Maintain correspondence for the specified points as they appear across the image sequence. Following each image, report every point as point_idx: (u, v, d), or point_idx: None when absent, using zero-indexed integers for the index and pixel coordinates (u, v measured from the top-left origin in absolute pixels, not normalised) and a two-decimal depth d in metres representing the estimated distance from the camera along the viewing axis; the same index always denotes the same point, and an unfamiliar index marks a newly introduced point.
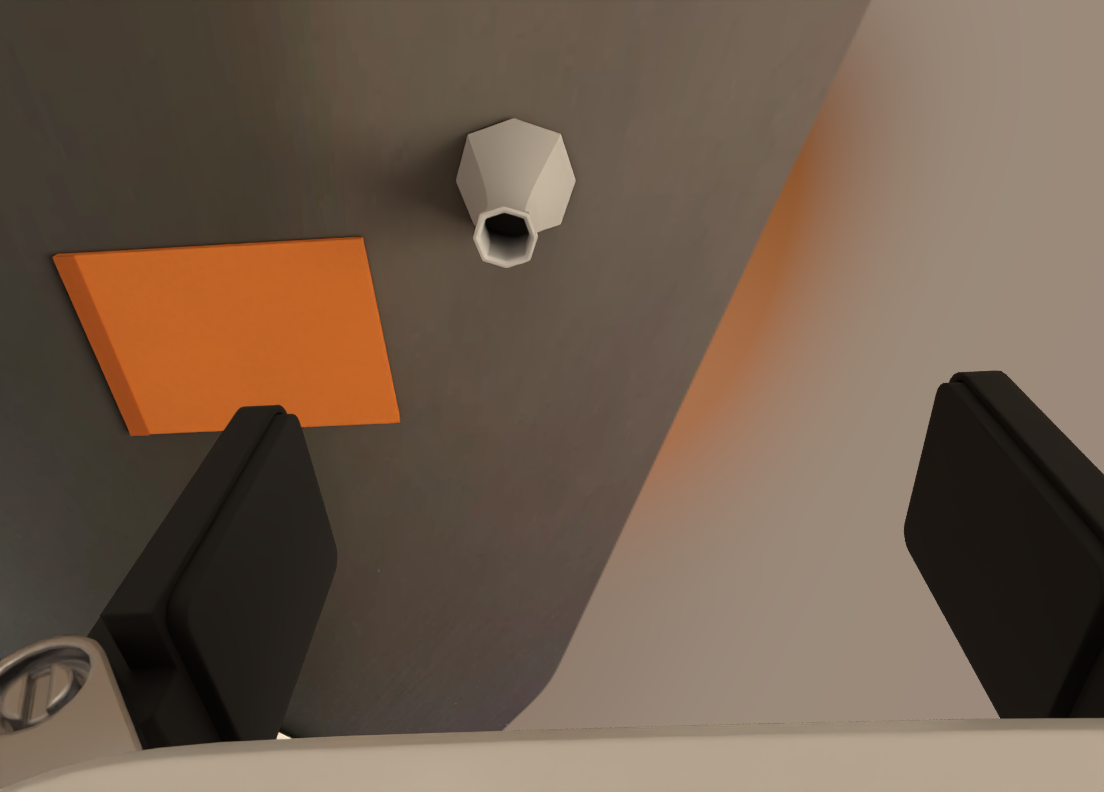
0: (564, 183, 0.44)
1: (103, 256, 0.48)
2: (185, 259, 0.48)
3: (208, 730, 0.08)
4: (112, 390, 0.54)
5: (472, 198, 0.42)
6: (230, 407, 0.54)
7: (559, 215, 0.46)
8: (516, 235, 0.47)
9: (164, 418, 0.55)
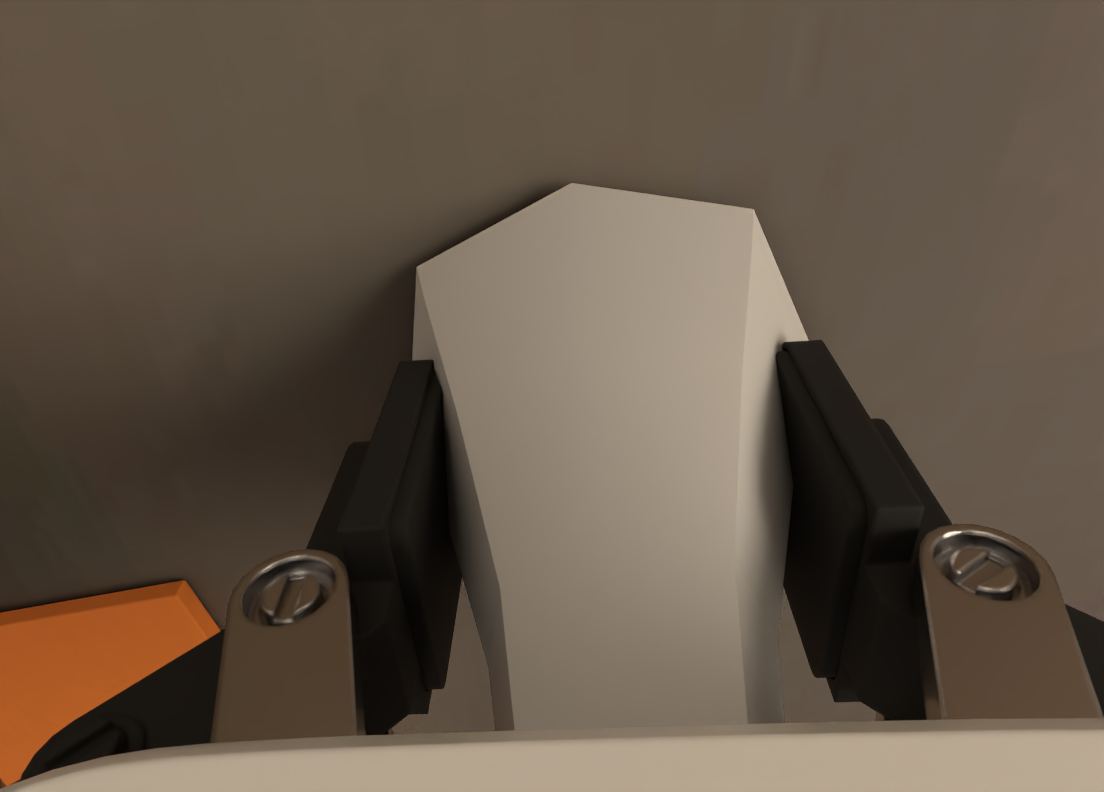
0: None
1: None
2: None
3: (410, 644, 0.09)
4: None
5: (457, 545, 0.10)
6: None
7: None
8: None
9: None
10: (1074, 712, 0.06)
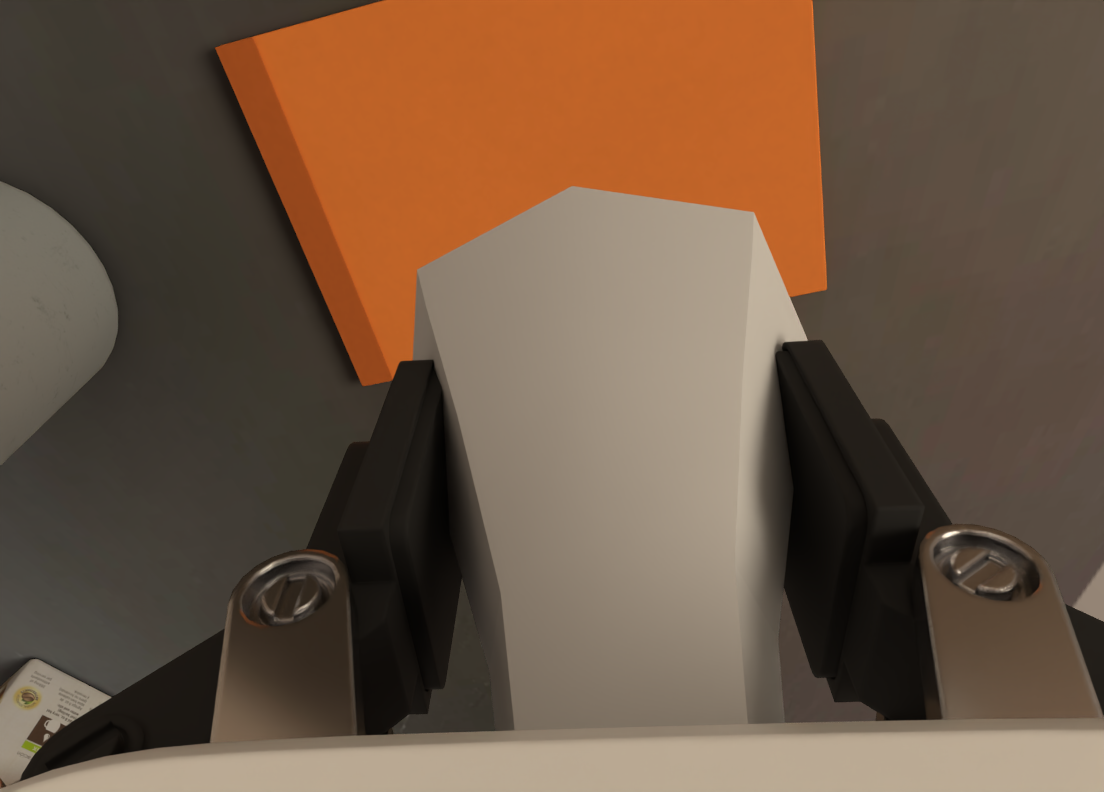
0: None
1: (306, 28, 0.26)
2: (456, 5, 0.25)
3: (410, 644, 0.09)
4: (330, 306, 0.31)
5: (457, 548, 0.10)
6: None
7: None
8: None
9: None
10: (1074, 712, 0.06)
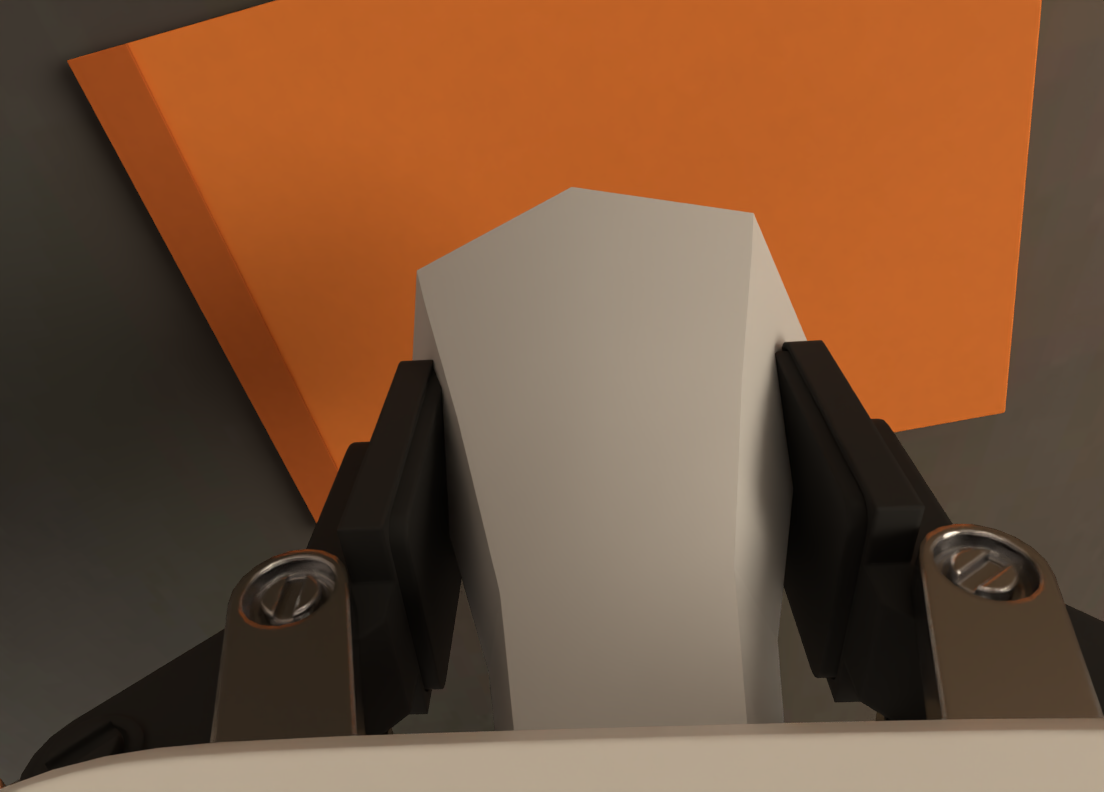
0: None
1: (212, 28, 0.16)
2: None
3: (410, 644, 0.09)
4: (272, 435, 0.21)
5: (457, 549, 0.10)
6: None
7: None
8: None
9: None
10: (1073, 712, 0.06)
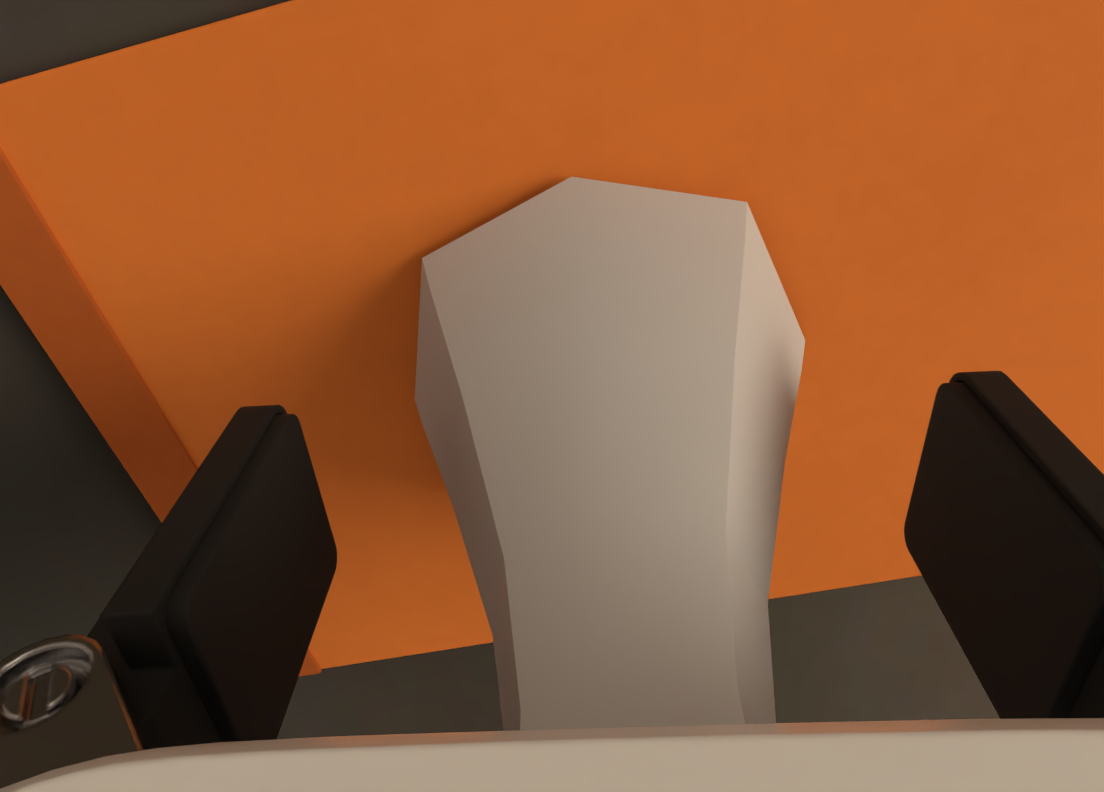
0: (788, 377, 0.12)
1: (81, 73, 0.12)
2: (412, 24, 0.11)
3: (208, 731, 0.08)
4: None
5: (461, 523, 0.11)
6: None
7: None
8: None
9: (360, 624, 0.18)
10: None
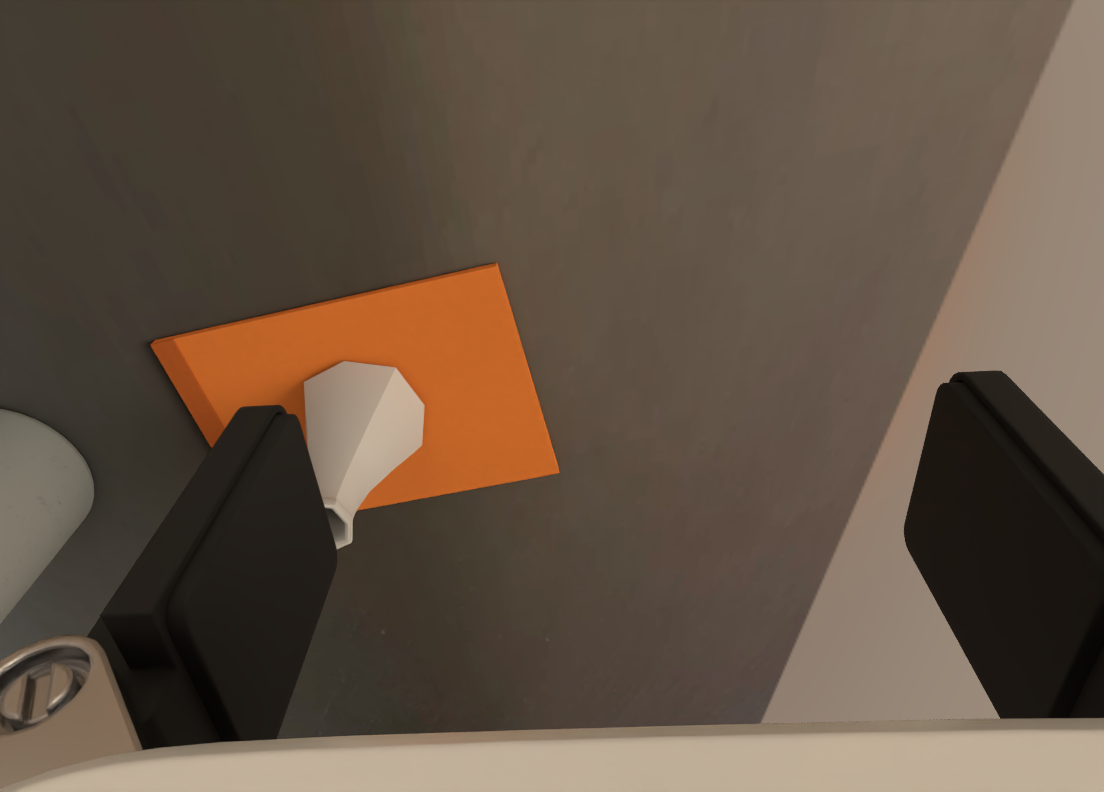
0: (407, 417, 0.42)
1: (206, 334, 0.42)
2: (296, 323, 0.41)
3: (208, 731, 0.08)
4: None
5: None
6: None
7: (413, 443, 0.44)
8: None
9: None
10: None
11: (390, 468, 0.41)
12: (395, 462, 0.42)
